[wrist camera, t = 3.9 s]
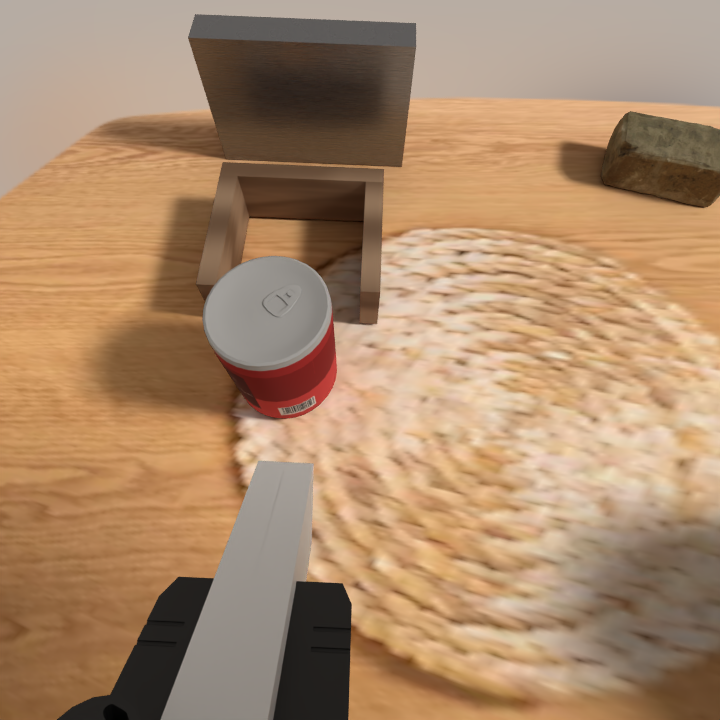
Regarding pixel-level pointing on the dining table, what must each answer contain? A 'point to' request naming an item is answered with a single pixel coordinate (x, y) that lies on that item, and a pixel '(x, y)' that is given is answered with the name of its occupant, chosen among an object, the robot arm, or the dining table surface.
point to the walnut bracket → (294, 215)
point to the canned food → (274, 334)
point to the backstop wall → (307, 87)
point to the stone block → (664, 159)
